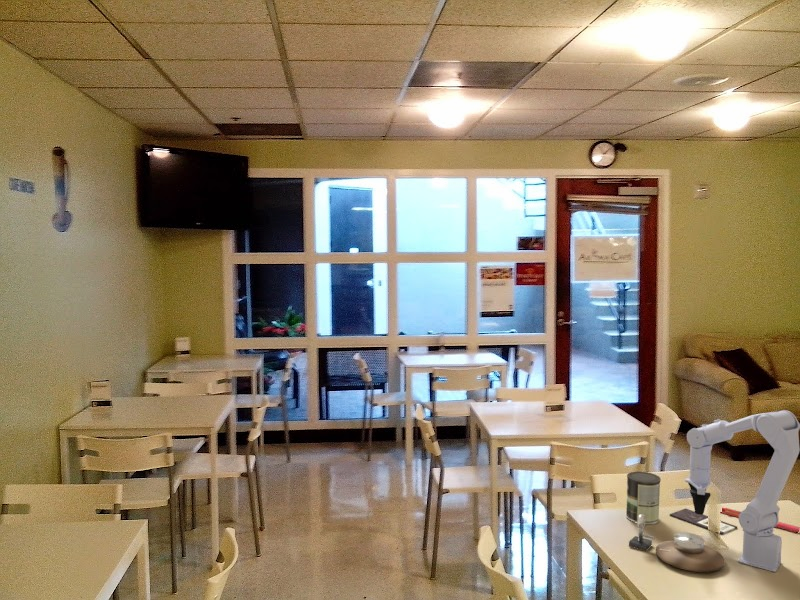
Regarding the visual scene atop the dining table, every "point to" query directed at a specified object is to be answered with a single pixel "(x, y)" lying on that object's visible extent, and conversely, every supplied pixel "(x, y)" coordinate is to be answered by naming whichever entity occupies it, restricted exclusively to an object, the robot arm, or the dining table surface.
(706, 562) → the turntable
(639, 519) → the trophy
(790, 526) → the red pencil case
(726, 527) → the chocolate bar
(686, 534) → the cover
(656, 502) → the coffee can
